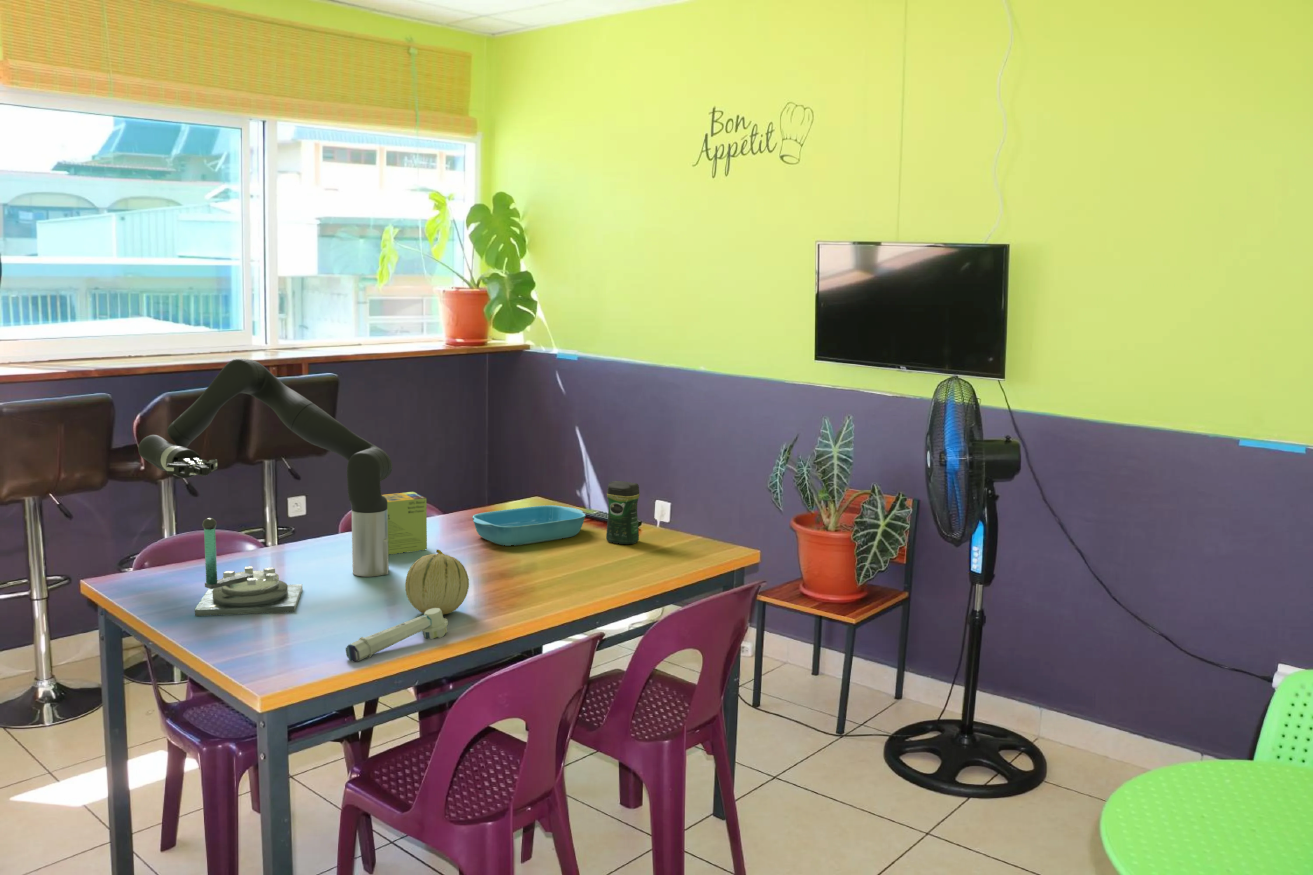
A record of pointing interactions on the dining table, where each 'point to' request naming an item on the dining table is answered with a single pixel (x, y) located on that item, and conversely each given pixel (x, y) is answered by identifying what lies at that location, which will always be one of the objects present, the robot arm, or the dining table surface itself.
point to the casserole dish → (529, 524)
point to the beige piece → (399, 634)
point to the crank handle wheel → (231, 581)
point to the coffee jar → (622, 512)
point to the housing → (250, 602)
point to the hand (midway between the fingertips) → (205, 471)
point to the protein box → (406, 522)
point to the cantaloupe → (437, 583)
